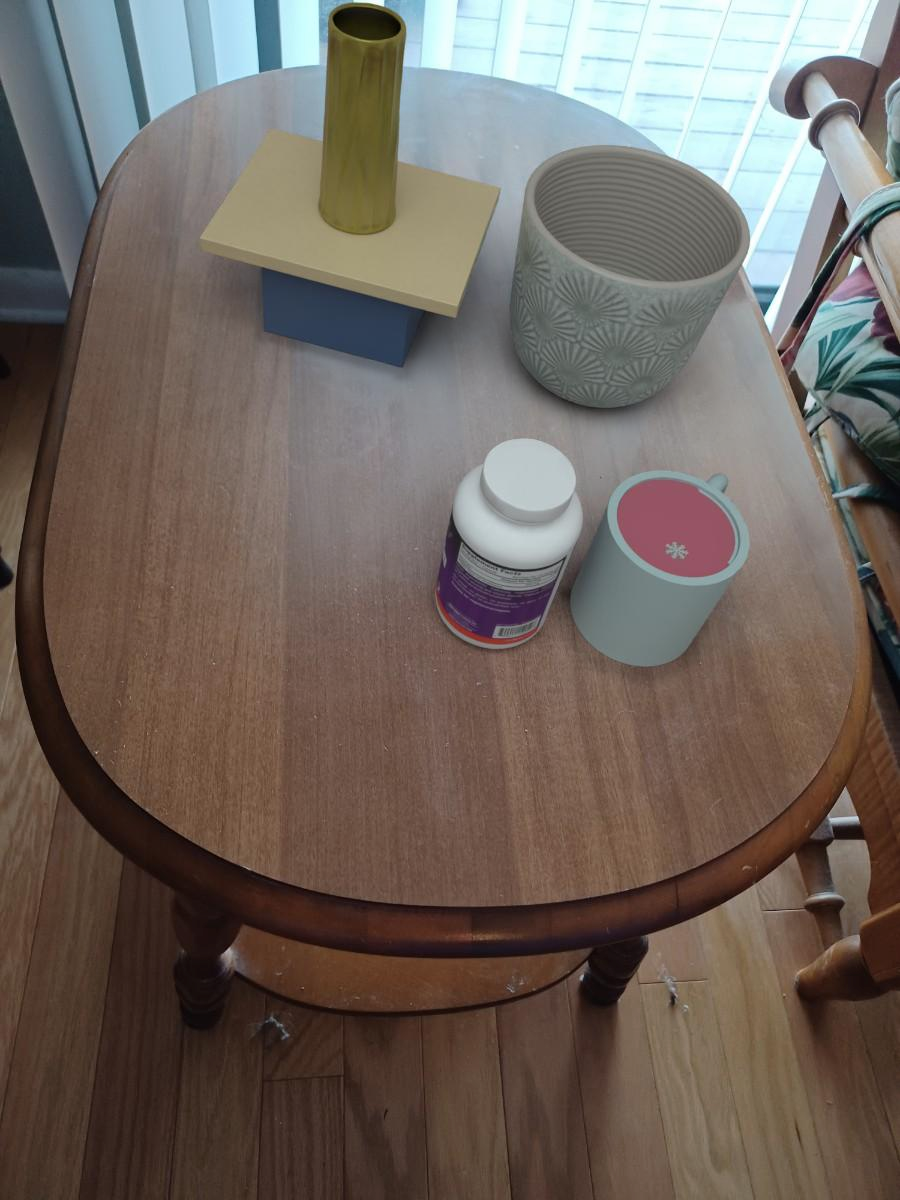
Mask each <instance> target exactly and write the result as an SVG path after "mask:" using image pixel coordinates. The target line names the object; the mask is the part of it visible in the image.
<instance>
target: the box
mask: <svg viewBox="0 0 900 1200" xmlns="http://www.w3.org/2000/svg"><path fill="white" fill-rule="evenodd" d="M322 149H323V140H318V139H315V138H312V137H308V136H304V135H300V134H297V133H296V134H295V133H292V132H288V131H284V130H280V129H277V128H273V127H272V128H270V129H269V130H268V131H267V133H266V135H265V137H264V138H263V140H262V141H261V143H260V144H259V146H258V147H257V149H256V150H255V152H254V154H253V155H252V156H251V158H250V160H248V163H247V164H246V166H245V167H244V169H243V171H241V174H240V175H239V176H238V178H237V180H236V181H235V183H234V184H233V186H232V187H231V189H230V190H229V192H228V193H227V195H226V196H225V198H224V200H223V201H222V203H221V204H220V206H219V207H218V208H217V210H216V212H215V213H214V215H213V216H212V218H211V220H209V223H207V226H206V227H205V229H204V230H203V232H202V233H201V235H200V236H199V247H200V252H203V253H206V254H211V255H215V256H219V257H222V258H226V259H230V260H233V261H237V262H241V263H246V264H247V265H248V264H249V265H252V266H256V267H261V288H262V291H261V292H262V314H263V315H262V316H263V331H264V332H267V333H271V334H275V335H279V336H282V337H286V338H289V339H293V340H297V341H301V342H305V343H308V344H313V345H316V346H319V347H324V348H328V349H332V350H335V351H339V352H343V353H346V354H350V355H354V356H358V357H361V358H365V359H368V360H369V359H370V360H373V361H376V362H380V363H384V364H388V365H392V366H395V367H399V368H403V366H404V364H405V361H406V358H407V356H408V353H409V352H410V348H411V346H412V343H413V341H414V338H415V335H416V333H417V331H418V328H419V325H420V323H421V320H422V318H423V315H424V313H425V311H426V312H430V313H435V314H437V315H442V316H446V317H449V318H453V319H456V318H457V317H458V315H459V311H460V309H461V305H462V303H463V300H464V297H465V294H466V291H467V289H468V286H469V283H470V281H471V278H472V275H473V273H474V270H475V266H476V264H477V262H478V258H479V256H480V253H481V250H482V248H483V245H484V241H485V239H486V236H487V233H488V231H489V228H490V225H491V222H492V219H493V216H494V214H495V211H496V209H497V205H498V203H499V200H500V194H501V187H499V186H495V185H491V184H487V183H484V182H480V181H476V180H473V179H468V178H466V177H465V178H464V177H461V176H457V175H453V174H450V173H446V172H442V171H437V170H433V169H430V168H426V167H422V166H418V165H415V164H411V163H407V162H404V161H399V160H398V168H397V184H396V196H395V206H396V217H395V219H394V221H393V222H392V224H391V225H389V226H388V227H387V228H385V229H384V230H381V231H379V232H375V233H370V234H354V233H348V232H345V231H342V230H339V229H337V228H334V227H333V226H331V225H330V224H329V223H327V222H326V221H325V220H324V219H323V217H322V216H321V214H320V211H319V208H318V202H319V196H320V182H321V168H322Z"/></svg>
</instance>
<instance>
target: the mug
mask: <svg viewBox="0 0 900 1200" xmlns="http://www.w3.org/2000/svg"><path fill="white" fill-rule="evenodd" d="M728 486H729V478H728V476H727V475H726V474H724V473H721V472H719V473H714V474H712V475H711V476H710V477H709V478H708V480H707V481H705V480H703V479H701V478H699V477H696V476H694V475H690V474H688V473H684V472H680V471H674V470H664V469H663V470H662V469H658V470H648V471H643V472H640V473H636V474H634V475H632V476H629V477H627V478H626V479H625V480H623V481H622V482H621V483H620V484H618V486H617V487H616V488H615V489H614V491H613V492H612V493H611V496H610V498H609V501H608V503H607V505H606V508H605V510H604V512H603V514H602V517H601V520H600V522H599V525H598V527H597V528H596V532H595V534H594V536H593V538H592V541H591V543H590V545H589V548H588V551H587V553H586V555H585V558H584V560H583V562H582V564H581V567H580V569H579V572H578V574H577V576H576V578H575V581H574V583H573V586H572V588H571V591H570V598H569V599H570V600H569V604H570V605H569V606H570V612H571V616H572V619H573V622H574V624H575V626H576V628H577V630H578V631H579V632H580V634H581V635H582V637H583V638H584V639H585V640H586V642H588V643H589V644H590V645H591V647H593V648H594V649H596V650H597V651H598V652H599V653H600V654H603V656H605V657H607V658H610V659H611V660H614V661H615V662H618V663H621V664H624V665H629V666H634V667H645V668H646V667H658V666H663V665H665V664H668V663H671V662H673V661H674V660H676V659H678V658H679V657H680V656H682V655H683V654H684V653H686V651H687V650H688V648H689V647H690V645H691V644H692V643H693V641H694V639H695V638H696V636H697V635H698V633H699V632H700V630H701V629H702V627H703V625H705V623H706V621H707V619H708V618H709V617H710V615H711V614H712V612H713V611H714V609H715V607H716V606H717V605H718V603H719V602H720V600H721V599H722V597H723V595H725V592H726V591H727V589H728V588H729V586H730V585H731V584H732V582H733V581H734V579H735V577H736V576H737V575H738V573H739V571H740V570H741V568H742V567H743V565H744V563H745V562H746V560H747V558H748V555H749V552H750V543H751V541H750V533H749V528H748V526H747V523H746V521H745V518H744V516H743V515H742V513H741V511H740V510H739V508H738V507H737V506H736V505H735V503H733V501H732V500H731V499H730V498H729V497H728V496H727V495H725V492H726V490H727V488H728Z"/></svg>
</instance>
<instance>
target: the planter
mask: <svg viewBox="0 0 900 1200" xmlns="http://www.w3.org/2000/svg"><path fill="white" fill-rule="evenodd" d="M520 217H521V218H520V224H519V231H518V239H517V247H516V253H515V261H514V268H513V275H512V281H511V282H512V283H511V289H510V297H509V305H508V306H509V309H508V310H509V328H510V334H511V339H512V342H513V345H514V348H515V350H516V353H517V356H518V358H519V360H520V362H521V363H522V364H523V366H524V368H525V369H526V370H527V371H528V373H529V374H530V375H531V376H532V378H534V379H535V380H536V381H537V382H538V383H539V384H540V385H541V386H542V387H544V388H545V389H546V390H547V391H548V392H550V393H552V394H553V395H555V396H557V397H559V398H561V399H564V400H565V401H568V402H570V403H574V404H577V405H580V406H584V407H590V408H596V409H610V408H612V409H613V408H621V407H626V406H631V405H634V404H637V403H640V402H643V401H645V400H647V399H649V398H650V397H651V398H652V397H653V396H654V395H656V394H657V393H660V391H662V390H663V389H664V388H666V386H668V385H669V384H670V383H671V382H672V381H673V380H674V379H675V378H676V377H677V376H678V375H679V373H681V371H682V370H683V369H684V368H685V366H686V365H687V363H688V362H689V361H690V358H691V357H692V355H693V354H694V353H695V350H696V348H697V347H698V345H699V343H700V341H701V339H702V338H703V336H704V334H705V332H706V331H707V329H708V327H709V325H710V323H711V321H712V320H713V318H714V316H715V314H716V312H717V311H718V308H719V307H720V305H721V303H722V302H723V300H724V298H725V296H726V295H727V292H728V291H729V289H730V288H731V286H732V283H733V281H734V280H735V278H736V276H737V275H738V272H739V271H740V269H741V268H742V265H743V264H744V262H745V260H746V258H747V256H748V253H749V249H750V246H751V245H750V244H751V231H750V228H749V223H748V220H747V218H746V215H745V214H744V212H743V210H742V208H741V206H740V205H739V204H738V202H737V201H736V199H734V198H733V196H731V194H730V193H729V192H728V191H727V190H726V189H725V188H724V187H722V186H721V185H720V184H719V183H717V181H716V180H714V179H712V177H710V176H708V175H707V174H705V173H704V172H702V171H700V170H699V169H697V168H695V167H693V166H691V165H689V164H688V163H685V162H683V161H681V160H678V159H676V158H673V157H671V156H668V155H665V154H663V153H660V152H656V151H653V150H648V149H645V148H638V147H633V146H627V145H617V144H616V145H615V144H612V145H611V144H597V145H595V144H594V145H586V146H579V147H573V148H570V149H568V150H567V149H566V150H564V151H561V152H559V153H556V154H554V155H552V156H550V157H549V158H547V159H546V160H544V161H543V162H541V163H540V164H539V165H538V166H537V167H536V168H535V169H534V171H533V172H532V173H531V174H530V176H529V178H528V180H527V183H526V186H525V189H524V195H523V201H522V209H521V216H520Z"/></svg>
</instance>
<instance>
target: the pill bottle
mask: <svg viewBox="0 0 900 1200" xmlns="http://www.w3.org/2000/svg"><path fill="white" fill-rule="evenodd" d="M576 487H577V475H576V471H575V468H574V466H573V464H572V463H571V461H570V460H569V458H568V457H567V456H566V455H565V454H564V453H563V452H562V451H561V450H559V449H558V448H557V447H554V445H552V444H549V443H547V442H545V441H543V440H542V441H541V440H538V439H534V438H526V437H525V438H513V439H508V440H505V441H503V442H501V443H499V444H497V445H496V446H494V447H493V448H492V449H491V450H490V451H489V452H488V453H487V454H486V457H485V459H484V461H483V463H480V464H478V465H477V466H475V467H473V468H472V469H471V470H470V471H469V472H468V473H467V474H466V475H465V476H464V477H463V479H462V480H461V481H460V483H459V485H458V486H457V488H456V491H455V494H454V498H453V500H452V501H453V502H452V506H451V510H450V516H449V521H448V526H447V530H446V534H445V535H446V536H445V540H444V545H443V550H442V553H441V554H442V555H441V561H440V564H439V569H438V574H437V578H436V584H435V593H434V599H435V604H436V609H437V612H438V613H439V617H440V618H441V619H442V622H443V623H444V625H446V626H447V628H448V629H449V630H450V631H451V632H452V633H453V634H454V635H455V636H456V637H458V638H459V639H461V640H463V641H465V642H466V643H469V644H471V645H473V646H475V647H476V646H477V647H479V648H482V649H483V648H484V649H489V650H504V649H505V650H506V649H510V648H514V647H517V646H520V645H522V644H524V643H526V642H528V641H529V640H531V639H532V638H533V637H534V636H536V635H537V633H539V631H540V630H541V629H542V627H543V626H544V624H545V622H546V620H547V618H548V616H549V614H550V611H551V608H552V605H553V602H554V601H555V597H556V595H557V592H558V590H559V587H560V585H561V582H562V580H563V577H564V574H565V572H566V570H567V567H568V565H569V563H570V559H571V557H572V555H573V553H574V550H575V547H576V545H577V543H578V540H579V538H580V535H581V532H582V529H583V523H584V522H583V521H584V514H583V513H584V512H583V507H582V504H581V503H582V502H581V500H580V498H579V495H578V493H577V492H576Z"/></svg>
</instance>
